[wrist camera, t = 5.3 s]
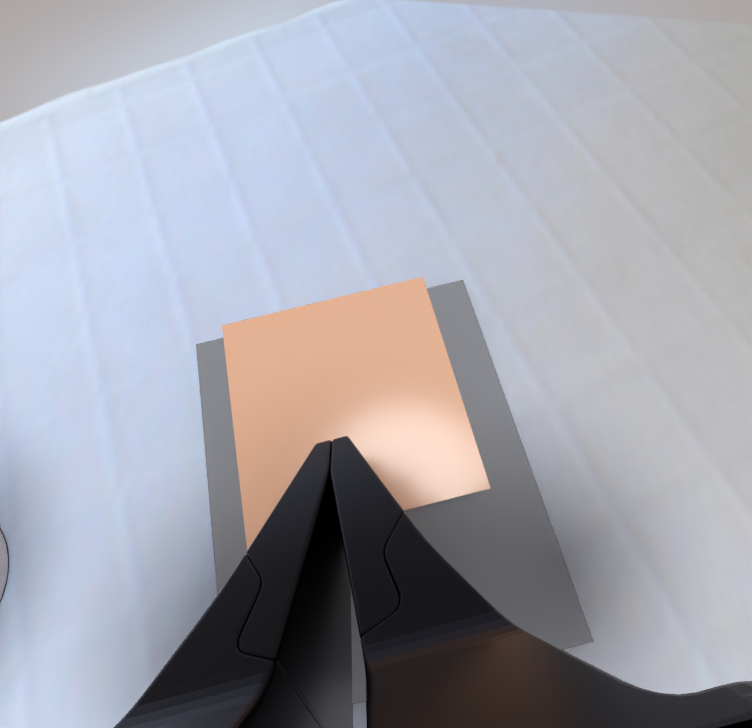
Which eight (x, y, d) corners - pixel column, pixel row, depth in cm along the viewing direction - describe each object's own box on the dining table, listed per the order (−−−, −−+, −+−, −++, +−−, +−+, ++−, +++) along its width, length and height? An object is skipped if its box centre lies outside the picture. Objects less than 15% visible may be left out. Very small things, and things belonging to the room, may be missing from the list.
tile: (490, 488, 13) (422, 276, 16) (247, 550, 13) (221, 325, 16) (475, 486, 15) (419, 303, 18) (271, 538, 15) (245, 346, 18)
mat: (586, 635, 14) (593, 641, 13) (235, 727, 14) (229, 736, 13) (461, 284, 19) (462, 279, 18) (201, 347, 19) (196, 344, 18)
